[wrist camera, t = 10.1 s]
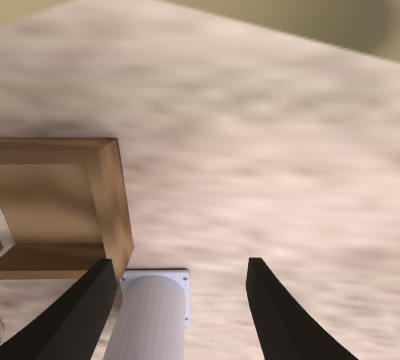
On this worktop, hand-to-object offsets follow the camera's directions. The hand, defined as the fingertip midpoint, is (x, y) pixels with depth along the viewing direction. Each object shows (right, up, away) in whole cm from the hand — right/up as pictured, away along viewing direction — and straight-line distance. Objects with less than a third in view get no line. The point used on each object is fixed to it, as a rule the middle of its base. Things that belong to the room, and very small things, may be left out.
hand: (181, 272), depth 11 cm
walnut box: (-12, +3, +9) cm, 16 cm away
